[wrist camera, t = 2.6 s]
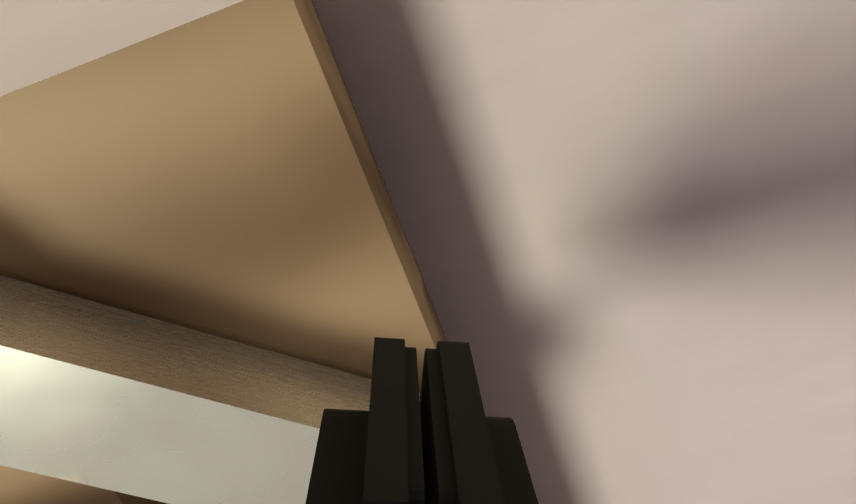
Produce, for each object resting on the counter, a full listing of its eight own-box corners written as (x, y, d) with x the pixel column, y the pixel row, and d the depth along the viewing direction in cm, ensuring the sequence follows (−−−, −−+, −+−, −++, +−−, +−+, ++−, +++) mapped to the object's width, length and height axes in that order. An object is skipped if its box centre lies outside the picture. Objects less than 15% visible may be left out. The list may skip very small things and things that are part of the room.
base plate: (-281, 219, 16) (-713, 356, 10) (305, -13, 15) (242, -25, 9) (124, 690, 24) (28, 937, 18) (536, 565, 23) (592, 784, 16)
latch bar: (-228, 352, 14) (-340, 414, 12) (-230, 181, 13) (-358, 217, 11) (383, 501, 17) (382, 575, 15) (439, 373, 16) (447, 434, 13)
